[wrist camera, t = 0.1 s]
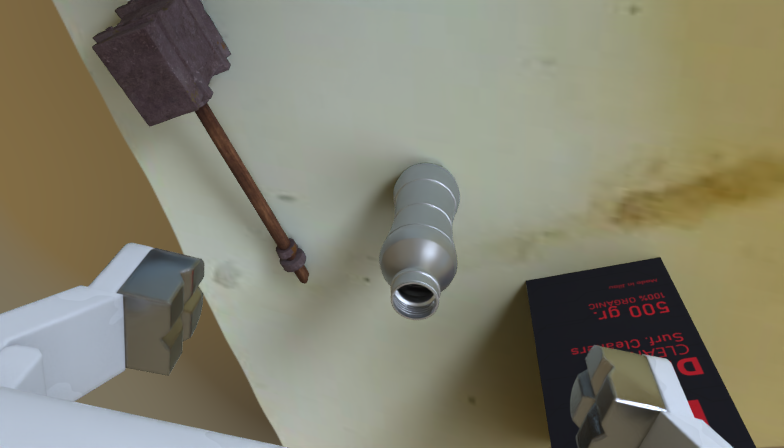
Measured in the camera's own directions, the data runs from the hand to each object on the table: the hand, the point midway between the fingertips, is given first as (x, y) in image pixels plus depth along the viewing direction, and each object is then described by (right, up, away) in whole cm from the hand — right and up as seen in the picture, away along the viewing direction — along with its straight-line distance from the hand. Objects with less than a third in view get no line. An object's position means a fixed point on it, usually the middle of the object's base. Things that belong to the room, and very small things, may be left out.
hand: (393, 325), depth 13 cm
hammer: (-15, +10, +52) cm, 55 cm away
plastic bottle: (+4, +6, +52) cm, 52 cm away
